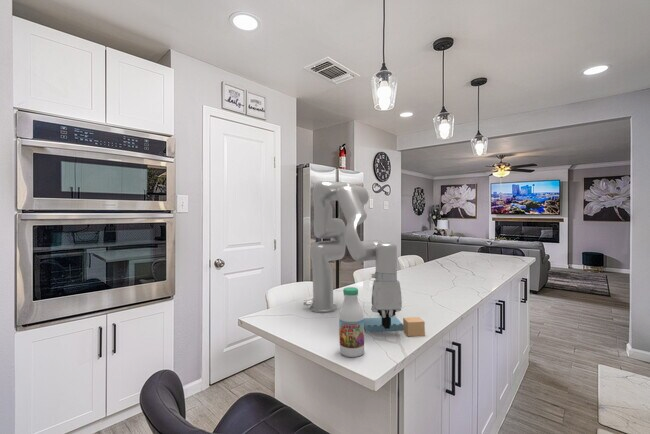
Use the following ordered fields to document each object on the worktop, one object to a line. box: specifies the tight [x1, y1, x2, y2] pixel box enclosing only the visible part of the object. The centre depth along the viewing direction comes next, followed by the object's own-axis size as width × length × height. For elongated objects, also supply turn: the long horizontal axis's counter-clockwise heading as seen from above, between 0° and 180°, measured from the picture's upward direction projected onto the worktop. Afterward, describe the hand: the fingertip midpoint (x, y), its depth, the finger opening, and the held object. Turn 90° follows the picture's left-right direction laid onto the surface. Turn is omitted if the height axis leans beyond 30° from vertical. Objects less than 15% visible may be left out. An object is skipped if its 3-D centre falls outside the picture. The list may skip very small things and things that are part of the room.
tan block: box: [402, 316, 426, 338], centre depth 106 cm, size 6×5×5 cm
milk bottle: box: [338, 286, 365, 358], centre depth 92 cm, size 8×8×20 cm
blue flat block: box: [363, 316, 403, 333], centre depth 113 cm, size 14×9×2 cm, turn 94°
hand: (386, 327), depth 106 cm, fingers closed
